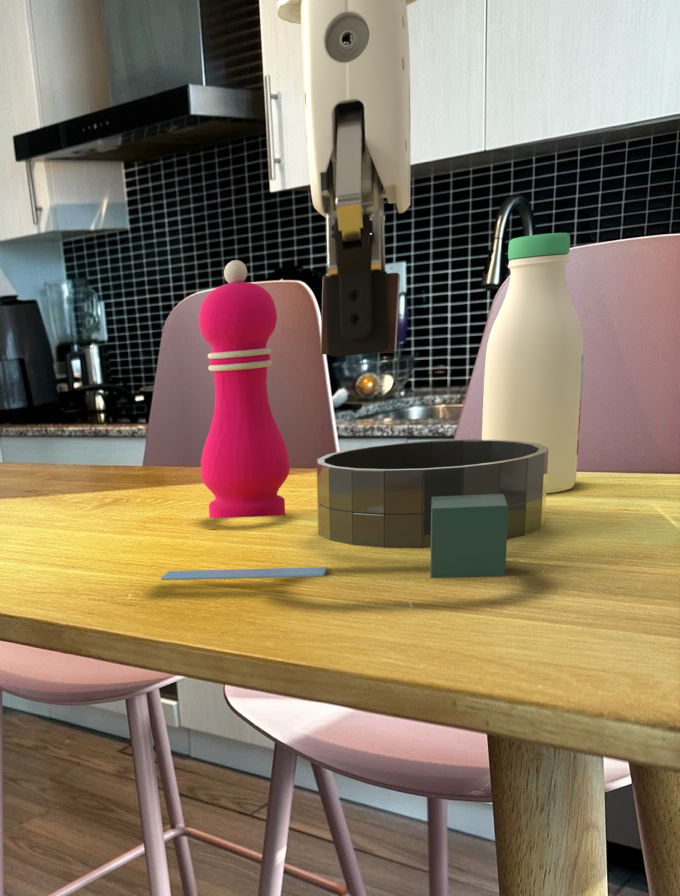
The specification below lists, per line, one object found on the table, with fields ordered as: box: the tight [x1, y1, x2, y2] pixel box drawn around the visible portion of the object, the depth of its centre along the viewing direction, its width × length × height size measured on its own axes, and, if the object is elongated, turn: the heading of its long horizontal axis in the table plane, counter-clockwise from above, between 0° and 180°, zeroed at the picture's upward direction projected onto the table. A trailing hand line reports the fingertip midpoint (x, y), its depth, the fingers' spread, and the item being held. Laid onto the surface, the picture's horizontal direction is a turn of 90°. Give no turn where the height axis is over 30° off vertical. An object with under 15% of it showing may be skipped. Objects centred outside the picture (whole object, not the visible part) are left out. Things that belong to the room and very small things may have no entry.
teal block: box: [429, 494, 508, 579], centre depth 59 cm, size 4×4×4 cm
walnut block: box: [320, 272, 401, 355], centre depth 57 cm, size 4×4×4 cm
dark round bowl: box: [315, 438, 549, 549], centre depth 72 cm, size 15×15×6 cm
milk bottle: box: [481, 232, 584, 494], centre depth 85 cm, size 8×8×20 cm
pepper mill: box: [198, 259, 291, 519], centre depth 82 cm, size 7×7×20 cm
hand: (359, 348), depth 58 cm, fingers closed on walnut block, 4 cm apart
